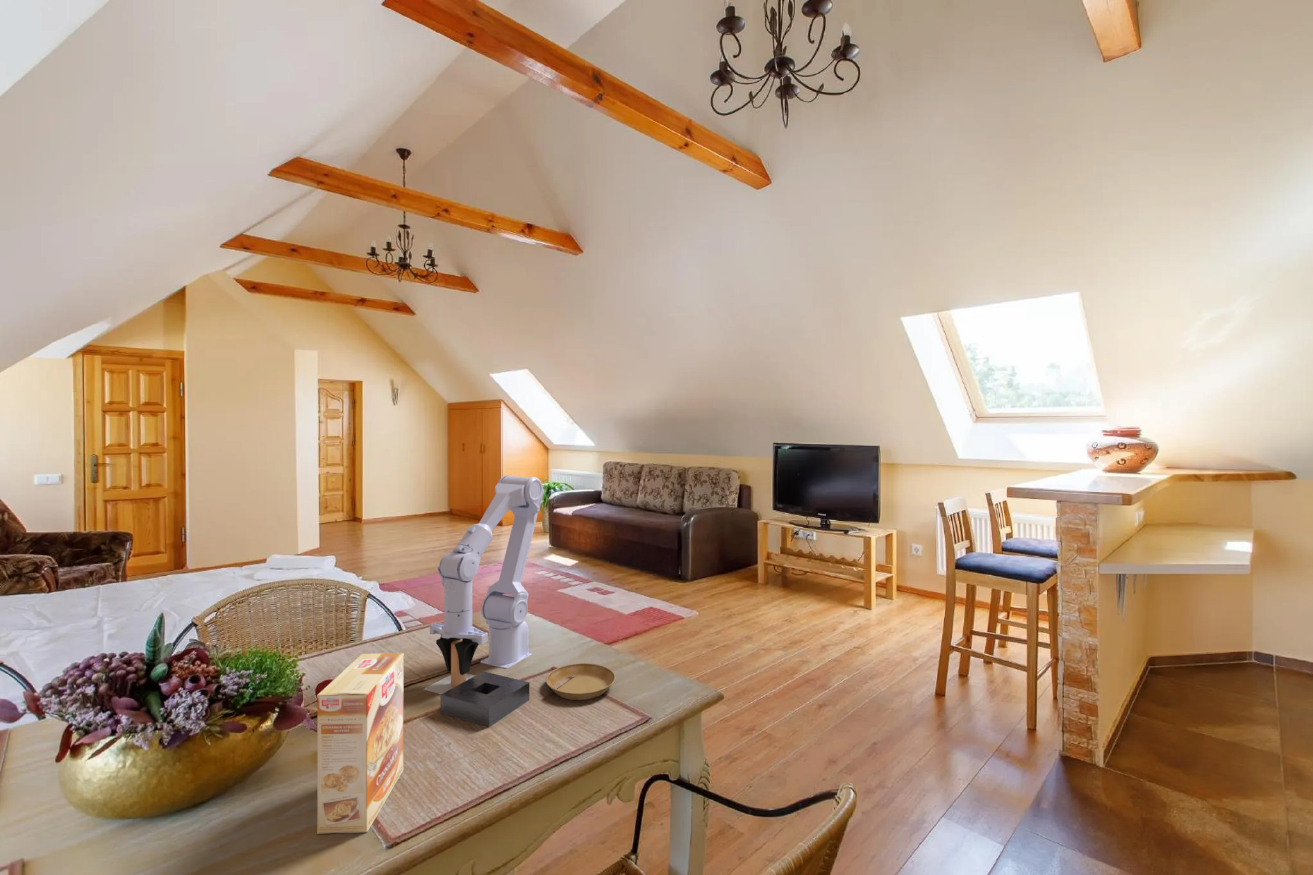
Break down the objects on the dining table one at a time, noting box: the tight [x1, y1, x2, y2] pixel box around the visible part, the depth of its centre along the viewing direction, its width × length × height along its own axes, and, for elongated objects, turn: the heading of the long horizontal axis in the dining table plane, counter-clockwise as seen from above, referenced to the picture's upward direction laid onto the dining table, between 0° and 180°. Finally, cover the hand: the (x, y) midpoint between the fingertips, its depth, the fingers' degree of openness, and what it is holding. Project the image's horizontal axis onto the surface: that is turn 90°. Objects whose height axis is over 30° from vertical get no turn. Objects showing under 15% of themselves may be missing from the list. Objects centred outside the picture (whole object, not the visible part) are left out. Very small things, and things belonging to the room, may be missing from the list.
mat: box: [422, 673, 476, 695], centre depth 127 cm, size 10×10×1 cm
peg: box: [450, 639, 466, 687], centre depth 126 cm, size 3×3×9 cm
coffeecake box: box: [316, 652, 405, 835], centre depth 88 cm, size 15×7×20 cm, turn 4°
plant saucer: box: [545, 662, 616, 701], centre depth 126 cm, size 15×15×3 cm
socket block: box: [439, 670, 530, 728], centre depth 117 cm, size 12×12×4 cm
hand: (458, 671), depth 126 cm, fingers closed on peg, 3 cm apart
